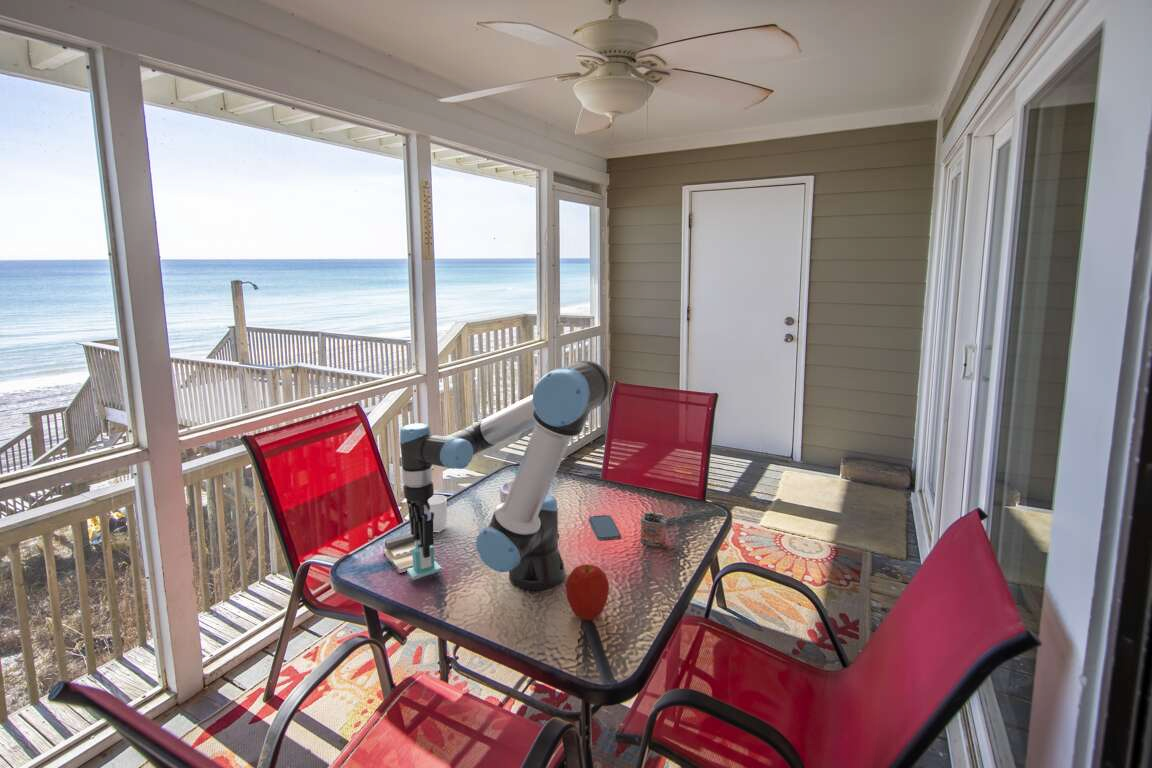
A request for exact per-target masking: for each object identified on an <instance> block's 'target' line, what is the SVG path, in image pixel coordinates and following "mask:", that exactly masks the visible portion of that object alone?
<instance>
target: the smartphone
mask: <svg viewBox="0 0 1152 768" xmlns="http://www.w3.org/2000/svg"><path fill="white" fill-rule="evenodd" d="M588 522H589V524H590V527H591V528H592V530H593V532H594V535H595V538H596V539H597V540H598V539H599V540H598V541H603V540H605V539H608V540H614V539H613V538H619V539H621V538H620V537H621V535H622V534H621V533H620V531H619V530H618V527H617V525H616V523H615V521H614V519H613V518H612V516H611V515H609V514H604V515H603V514H602V515H592V516H589V517H588ZM605 541H606V540H605Z"/></svg>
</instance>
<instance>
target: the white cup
mask: <svg viewBox="0 0 1152 768" xmlns="http://www.w3.org/2000/svg"><path fill="white" fill-rule="evenodd" d="M428 503H429V505H430V510H429V512H430V513H431V512H433V513H434V519H433V531H435V532H436V531H441V530H444V529H445V528H446V529H447V515H448V514H447V513H448V512H447V509H448V507H447V497H446V496H445V495H442V494H433V496H432V497H431V498H429V499H428ZM446 529H445V530H446ZM445 530H444V531H445ZM441 532H442V531H441Z"/></svg>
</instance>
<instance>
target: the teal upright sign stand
mask: <svg viewBox="0 0 1152 768" xmlns="http://www.w3.org/2000/svg"><path fill="white" fill-rule="evenodd" d="M434 550H435V549H434V546H433V545H431V546H430V551H431V566H430V567H427V568H424V569H421V563H420V549H419V547H417V548H413V549H412V555H413V567H412V568H408V569H407V572H406V573H407V574H408V575H409V576H410V578H411V579H413V580H417V579H420V578H422V577H426V576H428V575H429V576H430V575H432V574H435V573H438V572H441V571H443V569H442V568H443V567H442V566H441V565H440V564H439V563H438V562H437V561H436V560H435V552H434Z"/></svg>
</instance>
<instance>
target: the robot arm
mask: <svg viewBox="0 0 1152 768" xmlns="http://www.w3.org/2000/svg"><path fill="white" fill-rule="evenodd" d="M610 390H611V380H610V377H609V374H608V372H607V370H605V368H604V367H603V366H602V365H600V364H599V363H597V362H595V361H591V360H579V361H576V362H573V363H571V364H568V365H566V366H563V367H558V368H555V369H552V370H550V371H549V372H547V373H546V374H544V375H543V376H542V377H541V378H540V379H539V380H538V381H537V383H536V384H535V386H534V388H533V391H532V394H530V395H529V396H527V397H525V398H523V399H521V400H519V401H517V402H515V403H512V404H511V405H509V406H507V407H505V408H503V409H501V410H499V411H496V412H495V413H493V414H491V415H490V416H487V417H485V418H484V419H481V420H479V421H477V422H475V423H473V424H471V425H469V426H467V427H465V428H462V429H460V430H457V431H455V432H453V433H451V434H449V435H445V436H443V435H435V434H432V432H431V430H430V426H429V425H428V424H427V423H422V422H421V423H420V422H418V423H417V422H415V423H409V424H406V425H404V426H402V427H401V428H400V431H399V445H400V446H399V447H400V454H401V465H402V466H401V467H402V468H401V471H402V473H401V474H402V482H403V496H404V499H406V504H407V509H408V515H409V516H408V517H409V526H410V534H412V535H414V540H416V541H415V548H417V547H419V549H420V563H421V569H424V568H427V567H430V566H431V551H430V546H431V545H432V546H433V545H434V533H433V519H434V513H433V512H431V513H430V512H429V510H430V505H429V503H428V499H429V498H431V497H432V496H433V495H435V494H434V493H435V492H434V482H433V471H434V467H433V466H437V467H444V468H447V469H454V470H455V469H457V470H463V469H466V468H467V467H468V466H469V463H471V461H472V460H473V456H475V455H477V454H479V453H481V452H484V451H485V450H488V449H489V448H492V447H494V446H496V445H497V444H500V443H502V442H505V441H506V440H508V439H510V438H513V437H515V436H517V435H519V434H521V433H523V432H525V431H528V430H530V429H533V430H532V433H531V434H530V435H531V436H530V438H529V441H528V443H527V446H526V448H525V451H524V453H523V456H522V458H521V461H520V464H519V466H518V468H517V471H516V474H515V477H514V479H513V480H514V481H513V483H512V486H511V488H510V491H509V493H508V496H507V498H506V501H505V502H504V503H501V502H500V503H499V504H498V505H497V506H496V508H495V509H494V512H493V514H492V518H491V519H490V522H489V524H488V525H487V527H485V528H483V529H482V530H481V531H480V532H479V533H478V535H477V537H476V542H475V543H476V544H475V547H476V550H477V553H478V554H479V557H480V559H481V561H482V562H483V563H484V564H485V565H486V566H487V567H488V568H490V569H491V570H493V571H494V572H498V573H508V579H509V581H510V583H512V585H514V586H515V587H517V588H520V589H523V590H528V591H542V590H547V589H551V588H553V587H556V586H557V585H559V584H560V583H562V582H563V580H565V576H566V572H565V571H566V566H565V563H564V560H563V558H562V555H561V552H560V550H559V542H558V541H559V535H558V534H559V532H558V531H559V529H558V525H559V524H558V522H559V521H558V519H559V518H558V517H559V516H558V511H559V508H558V502H557V499H556V497H554V496H553V495H551V494H549V491H550V489H551V486H552V484H553V482H554V480H555V477H556V475H557V471H558V470H559V467H560V465H561V462H562V460H563V459H564V456H565V453H566V451H567V449H568V446H569V444H570V443H571V442H570V441H571V439H572V438H574V437H577V436H579V435H580V434H581V433H582V432H583V431H582V430H583V428H584V426H585V424H586V421H587V419H588V417H589V414H590V413H591V412H592V411H594V410H595V409H597V408H599V407H600V406H602V404H604V403H605V401H606V400H607V398H608V396H609V394H610Z"/></svg>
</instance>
